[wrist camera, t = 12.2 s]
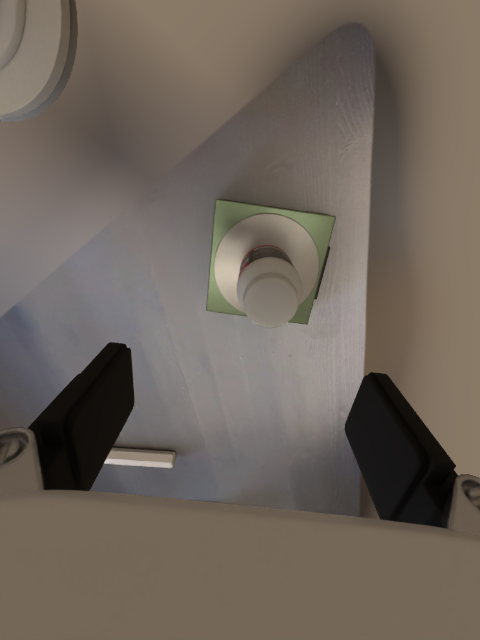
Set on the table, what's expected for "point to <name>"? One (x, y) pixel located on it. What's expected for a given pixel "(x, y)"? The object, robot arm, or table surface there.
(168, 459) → the white pencil
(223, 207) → the scale
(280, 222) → the pan
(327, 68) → the table surface
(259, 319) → the pill bottle
